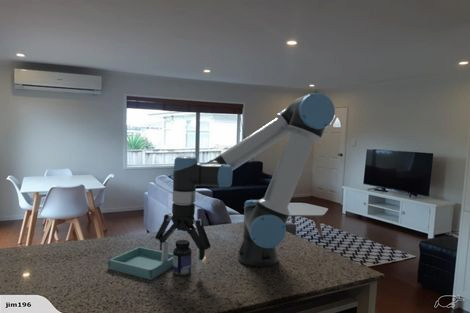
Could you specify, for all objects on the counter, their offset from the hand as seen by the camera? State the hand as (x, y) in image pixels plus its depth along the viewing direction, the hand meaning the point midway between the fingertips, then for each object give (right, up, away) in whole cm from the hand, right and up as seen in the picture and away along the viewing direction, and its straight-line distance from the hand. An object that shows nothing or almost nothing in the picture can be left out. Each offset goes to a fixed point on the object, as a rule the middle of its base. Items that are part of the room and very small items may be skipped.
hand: (181, 264), depth 117 cm
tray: (-14, -2, +5) cm, 15 cm away
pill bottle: (0, -3, 0) cm, 3 cm away
